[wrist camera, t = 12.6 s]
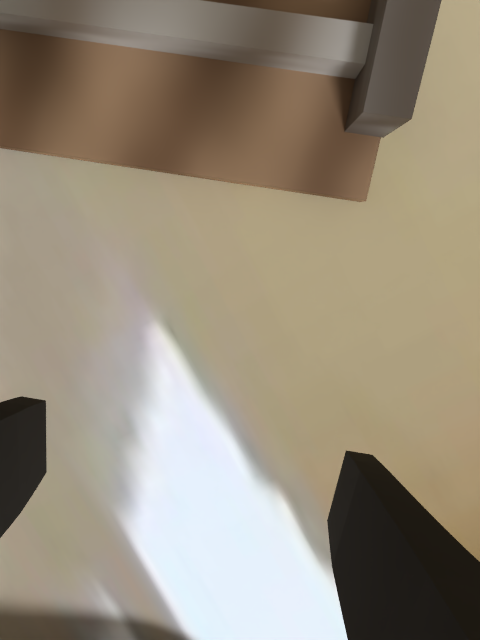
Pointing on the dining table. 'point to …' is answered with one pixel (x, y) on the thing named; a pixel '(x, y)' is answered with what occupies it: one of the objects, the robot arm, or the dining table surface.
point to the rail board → (215, 85)
